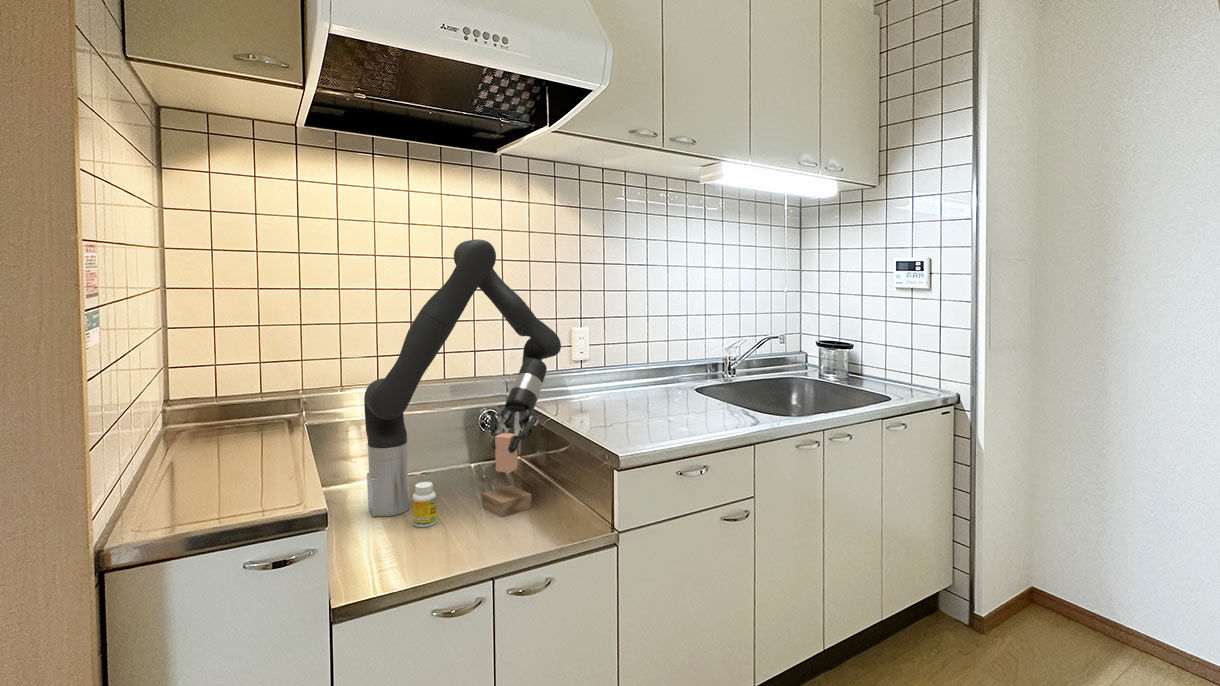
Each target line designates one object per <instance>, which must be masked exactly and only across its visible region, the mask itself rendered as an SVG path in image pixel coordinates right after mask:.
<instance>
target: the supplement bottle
mask: <svg viewBox="0 0 1220 686" xmlns="http://www.w3.org/2000/svg"><path fill="white" fill-rule="evenodd" d="M433 489H434V486H433V482H431V481H422V482H421V481H420V482H417V483H416V484H415V485H414V490H415V492H414V494H413V495H412V517H413V520H412V522H413V525H414V526H415V527H417V528H428V527H432V526H433V525H435V524H436V523H437V494H436V492H435V491H434V490H433Z"/></svg>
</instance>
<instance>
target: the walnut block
mask: <svg viewBox="0 0 1220 686" xmlns="http://www.w3.org/2000/svg"><path fill="white" fill-rule="evenodd" d="M481 496H482V497H481V499H482V502H481V503H482V504H481V507H482V508H483V509H485V510H487V511H489V512H491V513H493V514H495V515H496V516H497V517H500V518H504V517H506V516H507V517H508V516H510V515H514V514H517V513H520V512H525V511H527V510H530V509H532V501H533V500H532V498H533V497H532V493H529V492H527V491H525V490H523V489H521V488H518V487H516V486H514V485H512V484H511V485H507V486H504V487H500V488H496V489H493V490H490V491H489V490H488V491H485V492H482V493H481Z"/></svg>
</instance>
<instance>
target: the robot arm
mask: <svg viewBox="0 0 1220 686" xmlns="http://www.w3.org/2000/svg"><path fill="white" fill-rule="evenodd" d="M496 260H497V253H496V250H495V248H494V246H493V244H491V242H489V241H487V240H484V239H469V240H465V241H462V242H461V243H459V244H458V245H457V246H456V247H455V249H454V251H453V262H454V264H455V267H454V268H453V271H452V273H451V274H450V276H449V278H448V279H447V281H445V282H444V284H443V285H442V286H441V287H440V288H439V289H438V290H437V291H436V292H435V293H434V294H433V295H432V296H431V297H430V298H429V299H428V300H427V301H426V302H425V304H424V305H423V306H422V308H421V309H420V310H419V312H418V314H417V315H416V317H415V318H414V320H413V321H412V323H411V325H410V327H409V329H408V331H407V333H406V335H405V338H404V341H403V344H402V347H401V350H400V352H399V354H398V356H397V357H398V358H397V359H396V361H395V363H394V365H393V366H392V368H391V369H390V370H389V372H388V373H387V375H386V376H385V377H384V378H378V379H376V380H374V381H372V382H371V383H369V385H368V386H367V388H366V389H365V392H364V398H363V401H364V402H363V403H364V420H365V421H364V423H365V433H366V437H367V455H368V472H367V473H366V483H367V485H366V486H367V509H368V511H369V512H370V514H371V515H372V517H373V518H376V517H390V516H391V517H392V516H397V515H400V514H403V513H405V512H406V511H407V510H409V508H410V496H409V495H410V494H409V493H410V491H409V489H410V488H409V461H408V460H409V459H408V456H409V455H408V432H407V428H406V424H405V419H404V418H405V417H404V412H405V411H406V409H407V408H408V406H409V404H410V402H411V400H412V398H413V395H414V393H416V392H415V391H416V390H417V387H418V385H419V383H420V382H421V379H422V378H423V376H424V374H425V373H426V372H427V369H429V367H430V365H431V364H432V362H433V361H434V360H435V358H436V357H437V355H438V354H439V352H440V350H441V348H442V347H443V345H444V344H445V342H446V341H447V339H448V338H449V336H450V334H451V333H452V331H453V330H454V328H455V326H456V324H457V323H458V320H459V319H460V317H461V316H462V315H463V313H464V310H465V309H466V307H467V305H469V302H470V300H471V298H472V297H473V295H474V293H475V292H476V291H477V289H480V290H481V291H482V293H484V295H485V296H486V297H487V298H488V299H489V300H490V301H491V303H492V304H493V305H494V307H496V309H497V310H498V311H499V312H500V313H501V315H502V316H503V318H504V319H505V320H506V321H507V323H508V324H509V325H510V326H511V328H512V329H513V331H514V332H515V333H516V334H517V335H518V336H520V337H529V338H528V340H526V342H525V344H524V347H523V352H522V364H521V366H520V370H519V372H518V374H517V376H516V378H515V380H514V382H513V385H512V386H511V389H510V391H509V393H508V396H507V398H506V401H505V405H504V408H503V410H501V411H500V412H498V413H496V412H494V411H493V412H491V413H490V418H489V431H490V433H491V434H492V436H493V439H492V441H491V443H490V445H491V446H490V447H491V450H493V452H495V450H496V447H495V436H497V435H499V434H501V433H509V431H510V430H511V429H514V431H513V432H514V433H513V434H514V437H512V440H511V442H510V445H509V447H508V451H509V452H510V453H514V451H516V450H517V451H518V446H519V444H520V442H521V441H522V440H526V441H527V440H529V438H530V437H531V436H532V435H533V433H534V432H535V430H536V428H538V426H539V425H540V420H539V418H538V417H537V416H536V415H534V416H533V415H532V414H533V412H534V410H535V408H536V404H537V402H538V399H539V397H540V394H541V390H542V385H543V383H544V380H545V378H546V374H547V369H548V368H547V364H546V363H545V362H544V361H543V360H545V359H549V358H552V357H555V356H557V355H559V353H560V352H561V349H562V344H561V340H560V339H561V338H559V336H558V335H557V333H556V332H555V331H554V330H553V329H552V328H551V327H549V326H548V325H546V324H545V323H544V322H543V321H542V320H540V319H538V318H537V316H536V315H535V314H534V313H533V311H532V310H531V309H530V307H529V305H528V304H527V303H526V302H525V301H524V300H523V299H522V298H521V297H520V295H519V294H518V293H516V292H515V290H513V289H512V288H511V287H509V286H508V284H506V282H505V281H504V280H503V279H502V278H501V277H500V276H499V274H497V272H496V270H495V269H494V267H495V264H496V262H497V261H496ZM525 425H526V426H525ZM524 426H525V427H524Z"/></svg>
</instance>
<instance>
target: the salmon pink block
mask: <svg viewBox="0 0 1220 686" xmlns="http://www.w3.org/2000/svg"><path fill="white" fill-rule="evenodd" d="M512 437H514V433H509V432H507V433H501V434H499V435H497V436H495V447H496V450H495V451H494V452H495V455H494V456H495V472H501V473H509V474H510V473H512V472H513V471H515V470H517V469H518V449H517V450H516V451H514V453H510V452H509V451H508V447H509V445H510V442H511V440H512Z"/></svg>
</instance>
